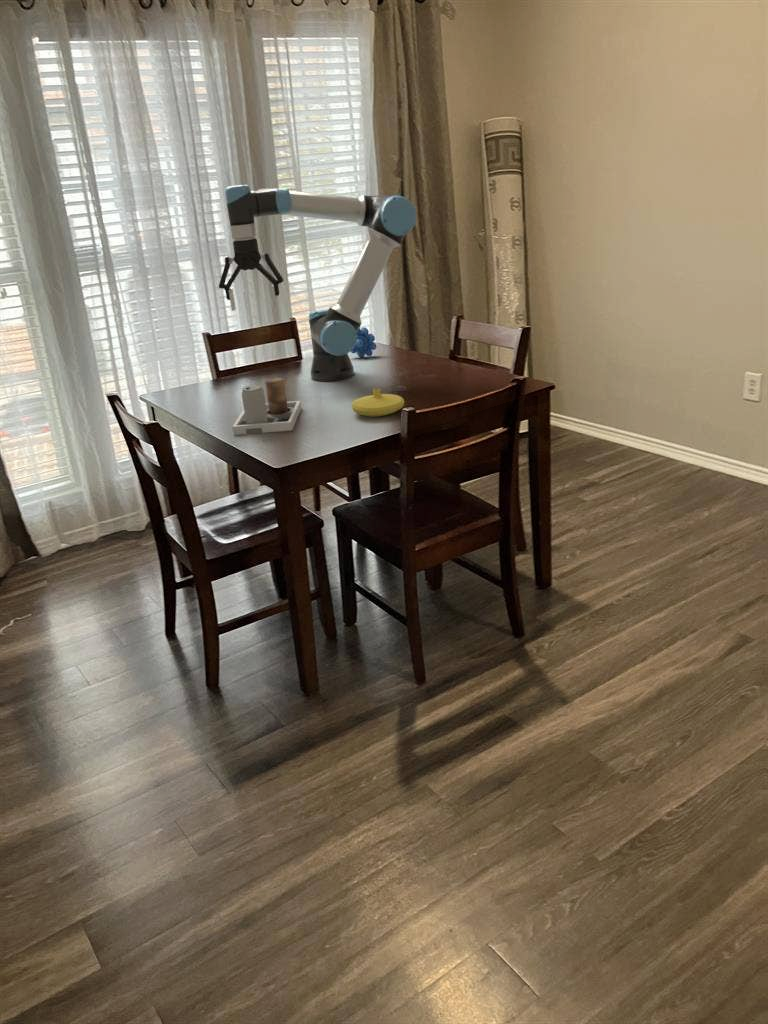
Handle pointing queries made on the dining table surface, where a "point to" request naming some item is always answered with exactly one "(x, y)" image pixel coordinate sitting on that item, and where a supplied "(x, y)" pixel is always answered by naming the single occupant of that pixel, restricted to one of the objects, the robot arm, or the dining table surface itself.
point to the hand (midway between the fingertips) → (254, 308)
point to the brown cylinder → (276, 396)
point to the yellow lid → (378, 404)
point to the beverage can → (254, 405)
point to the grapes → (364, 343)
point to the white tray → (274, 426)
